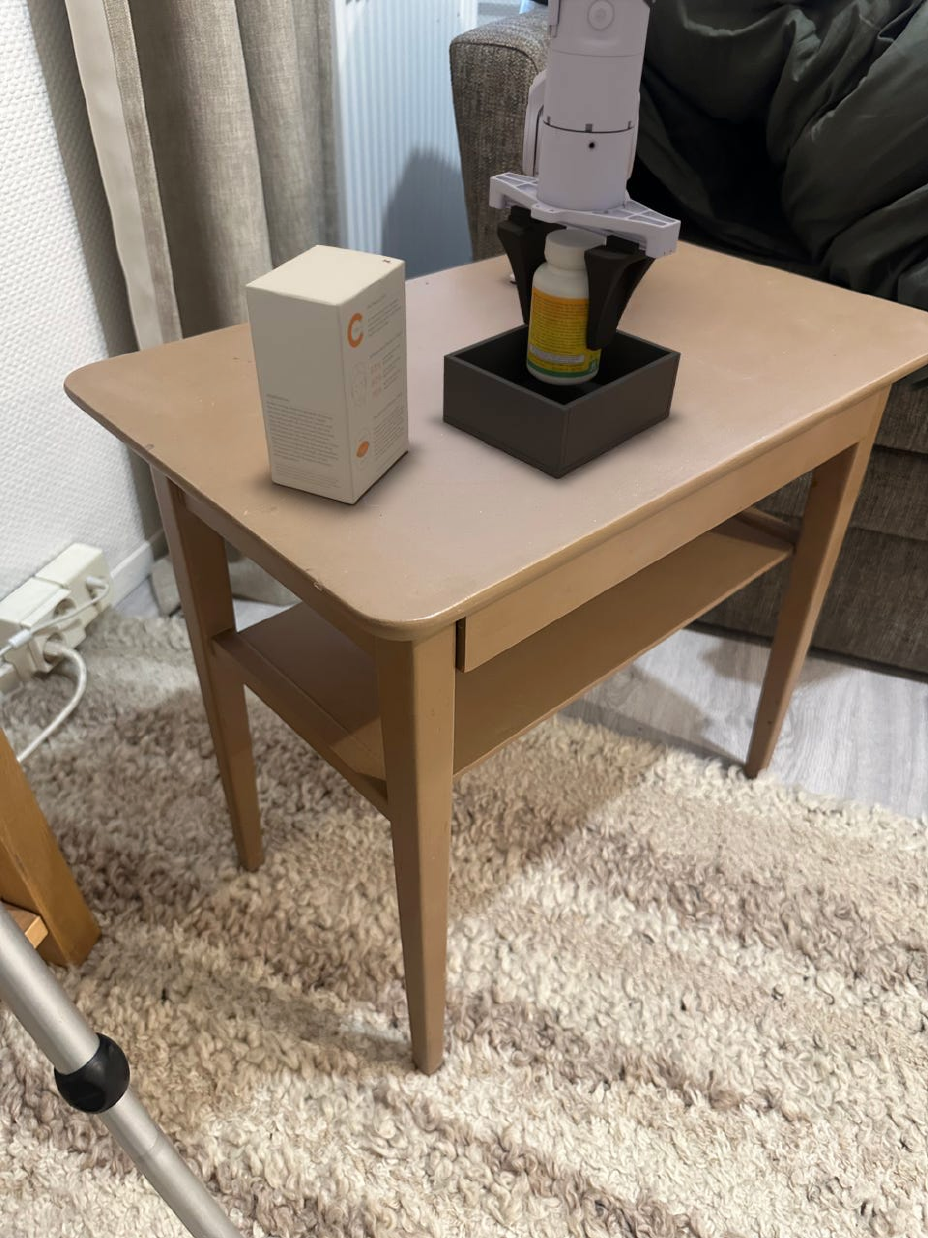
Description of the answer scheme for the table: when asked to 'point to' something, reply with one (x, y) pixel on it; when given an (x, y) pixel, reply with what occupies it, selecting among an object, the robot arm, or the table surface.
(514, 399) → the open black bin
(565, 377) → the supplement bottle
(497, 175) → the robot arm
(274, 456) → the small box
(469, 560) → the table surface
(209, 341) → the table surface
